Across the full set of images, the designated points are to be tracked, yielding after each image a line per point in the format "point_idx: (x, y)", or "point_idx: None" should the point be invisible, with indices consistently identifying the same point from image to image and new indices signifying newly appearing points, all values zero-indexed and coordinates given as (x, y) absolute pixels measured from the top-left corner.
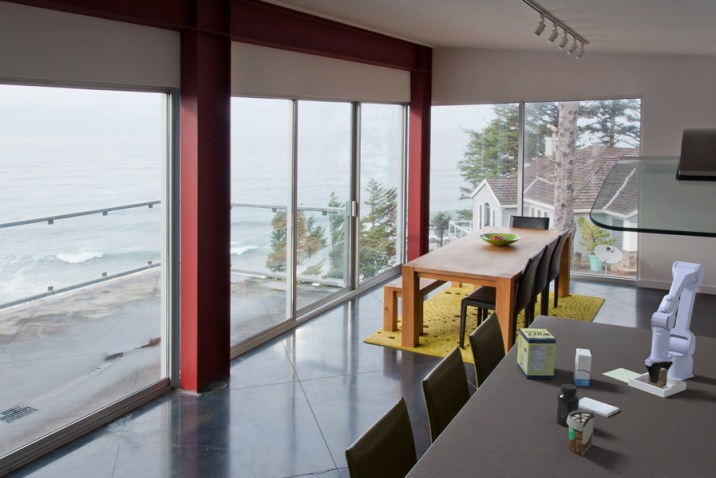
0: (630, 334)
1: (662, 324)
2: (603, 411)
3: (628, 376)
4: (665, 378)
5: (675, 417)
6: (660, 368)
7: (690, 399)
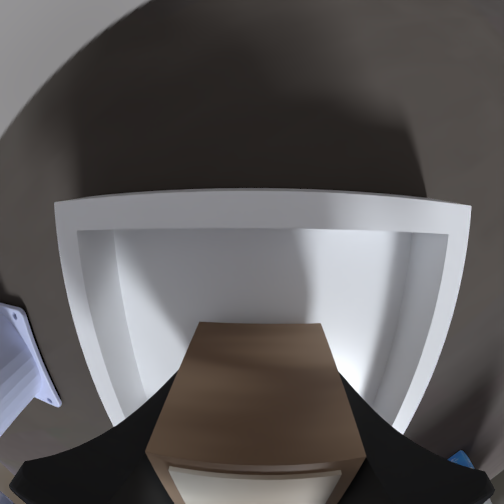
0: (15, 470)
1: None
2: None
3: None
4: (215, 370)
5: None
6: (426, 496)
7: (249, 55)
